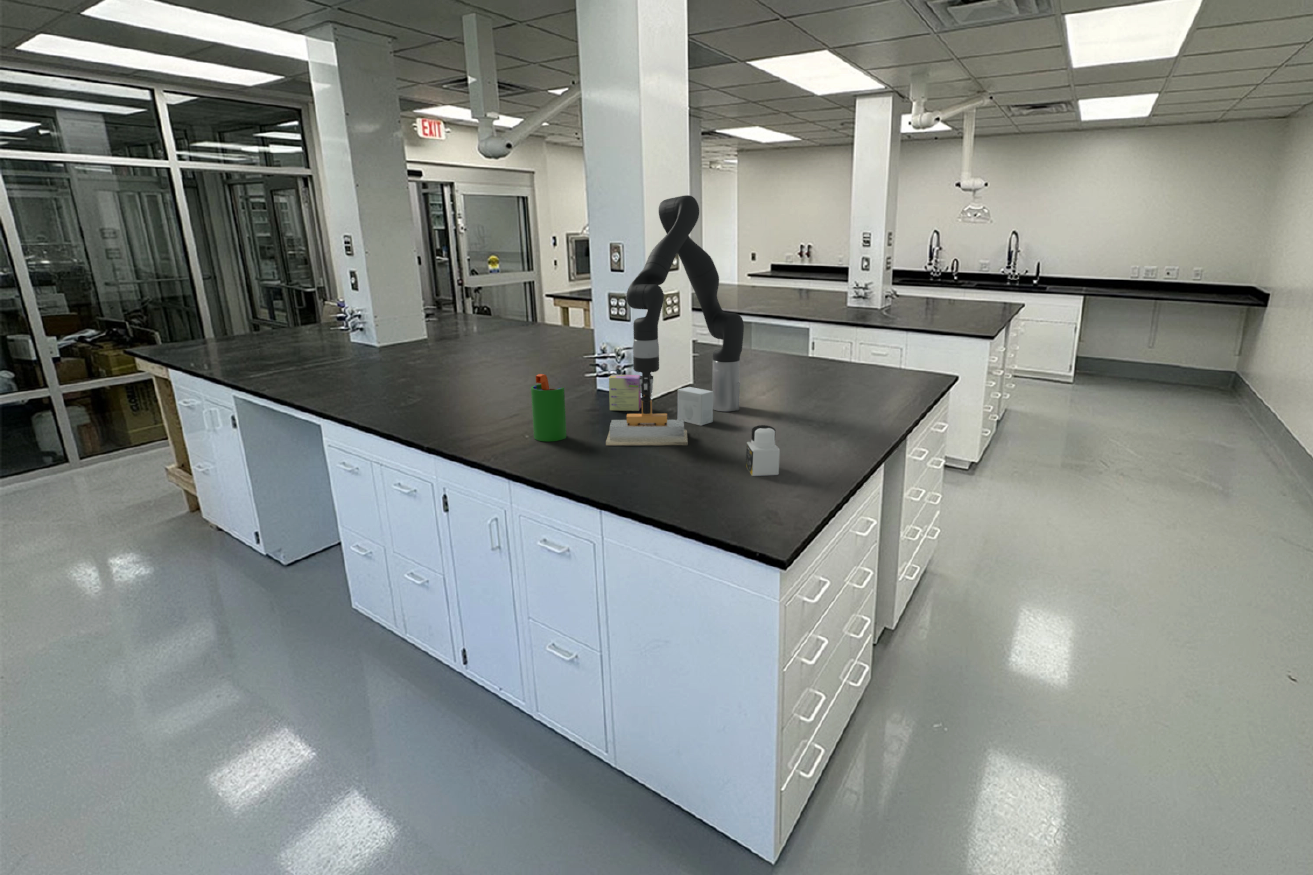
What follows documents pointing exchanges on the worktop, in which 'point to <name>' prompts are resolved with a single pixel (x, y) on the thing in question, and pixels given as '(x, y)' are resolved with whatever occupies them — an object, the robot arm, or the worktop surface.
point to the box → (624, 392)
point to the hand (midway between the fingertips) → (647, 411)
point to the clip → (647, 417)
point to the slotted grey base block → (647, 433)
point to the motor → (548, 411)
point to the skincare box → (695, 405)
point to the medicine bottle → (762, 452)
